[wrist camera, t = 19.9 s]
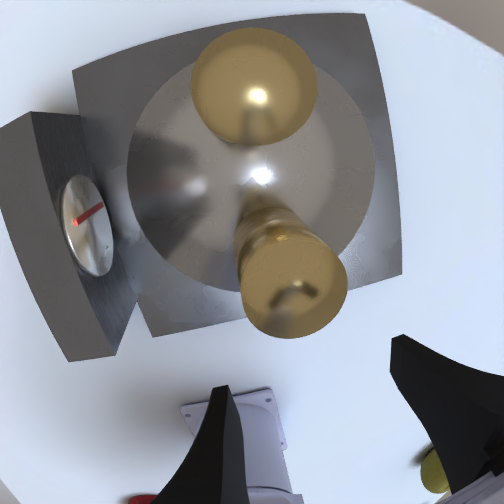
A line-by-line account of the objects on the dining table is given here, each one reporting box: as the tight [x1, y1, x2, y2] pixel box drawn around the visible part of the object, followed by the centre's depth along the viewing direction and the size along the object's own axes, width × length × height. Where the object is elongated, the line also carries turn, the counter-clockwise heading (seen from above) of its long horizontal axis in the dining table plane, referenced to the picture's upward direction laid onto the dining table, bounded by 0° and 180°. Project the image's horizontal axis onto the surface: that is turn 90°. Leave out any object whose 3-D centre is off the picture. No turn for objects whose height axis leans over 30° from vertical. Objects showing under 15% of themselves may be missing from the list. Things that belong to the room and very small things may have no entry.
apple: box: [421, 448, 450, 494], centre depth 32 cm, size 8×8×7 cm
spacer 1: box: [191, 28, 318, 146], centre depth 13 cm, size 4×4×6 cm
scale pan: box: [127, 61, 375, 292], centre depth 17 cm, size 14×14×1 cm
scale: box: [0, 13, 402, 362], centre depth 16 cm, size 18×21×7 cm
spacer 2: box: [232, 207, 348, 339], centre depth 16 cm, size 4×4×6 cm
